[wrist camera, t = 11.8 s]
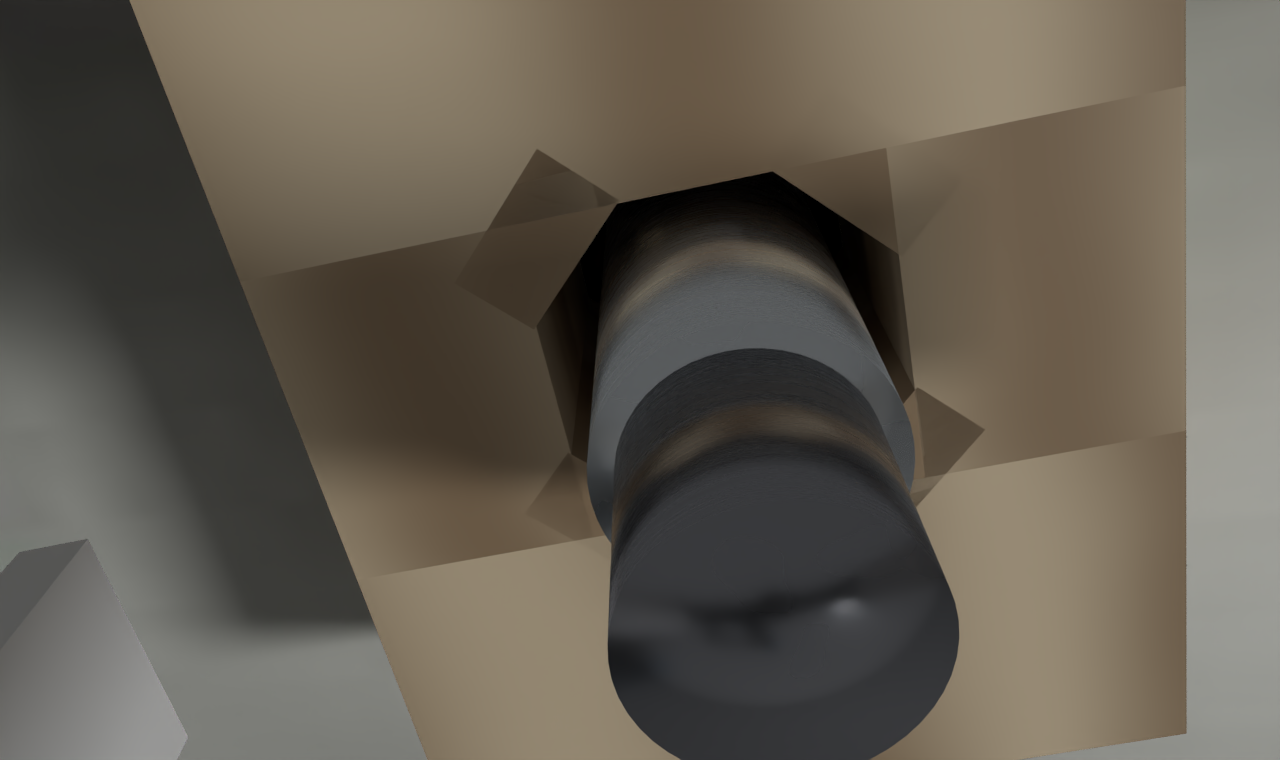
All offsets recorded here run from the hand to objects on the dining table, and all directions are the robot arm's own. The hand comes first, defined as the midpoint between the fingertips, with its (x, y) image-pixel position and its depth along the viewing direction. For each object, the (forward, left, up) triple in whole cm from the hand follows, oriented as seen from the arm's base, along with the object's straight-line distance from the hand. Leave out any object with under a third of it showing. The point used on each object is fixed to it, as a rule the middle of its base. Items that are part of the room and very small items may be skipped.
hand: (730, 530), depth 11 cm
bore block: (0, 0, -10) cm, 10 cm away
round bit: (0, 0, -10) cm, 10 cm away
